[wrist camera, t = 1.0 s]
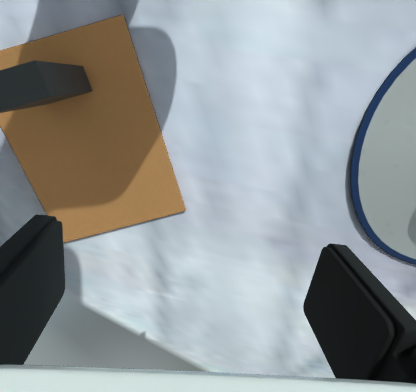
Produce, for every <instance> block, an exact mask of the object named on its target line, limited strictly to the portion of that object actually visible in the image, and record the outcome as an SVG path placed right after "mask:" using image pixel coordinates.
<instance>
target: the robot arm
mask: <svg viewBox="0 0 416 392" xmlns="http://www.w3.org/2000/svg"><path fill="white" fill-rule="evenodd" d="M64 290H65V271H64V249H63V227H62V222H61V221H57V218H56V217H55V216H46V215H35V216H34V217H33V218H32V219H31V220H30V221H28V222H27V223H26V224H25V225H24V226H23V227H22V228H21V229H20V230H18V231H17V232H16V233H15V234H14V235H13V236H12V237H11V238H10V239H9V240H7V241H6V242H5V243H4V244H3V245H2V246H1V247H0V392H416V320H415V319H414V318H413V317H412V316H411V315H410V314H409V313H408V312H407V310H406V309H405V308H404V307H403V306H402V305H401V304H400V303H399V302H398V301H397V300H396V299H395V298H394V296H393V295H392V294H391V293H390V292H389V291H388V290H387V289H386V288H385V287H384V286H383V285H382V283H381V282H380V281H379V280H378V279H377V278H376V277H375V276H374V275H373V274H372V273H371V272H370V270H369V269H368V268H367V267H366V266H365V265H364V264H363V263H362V262H361V261H360V260H359V259H358V257H357V256H356V255H355V254H354V253H353V252H352V251H351V250H350V249H349V248H348V247H347V246H346V245H339V244H328V246H327V247H324V248H323V249H322V251H321V254H320V257H319V260H318V263H317V266H316V269H315V272H314V275H313V278H312V281H311V284H310V287H309V290H308V293H307V296H306V299H305V301H304V313H305V315H306V317H307V320H308V322H309V324H310V326H311V328H312V330H313V332H314V334H315V336H316V338H317V340H318V342H319V344H320V346H321V348H322V351H323V353H324V355H325V357H326V359H327V361H328V363H329V365H330V367H331V369H332V371H333V373H334V375H335V377H336V378H318V377H299V376H280V375H260V374H239V373H217V372H194V371H173V370H172V371H171V370H149V369H148V370H147V369H124V368H99V367H73V366H43V365H23V364H24V362H25V361H26V359H27V357H28V355H29V354H30V352H31V350H32V348H33V347H34V345H35V343H36V341H37V340H38V338H39V336H40V335H41V333H42V331H43V329H44V328H45V326H46V324H47V322H48V321H49V319H50V317H51V315H52V314H53V312H54V310H55V308H56V307H57V305H58V303H59V301H60V300H61V298H62V296H63V294H64Z"/></svg>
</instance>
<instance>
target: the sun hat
mask: <svg viewBox="0 0 416 392" xmlns="http://www.w3.org/2000/svg"><path fill="white" fill-rule="evenodd" d="M350 183H351V192H352V199H353V203H354V207H355V211H356V214H357V216H358V219H359V221H360V223H361V225H362V227H363V228H364V230H365V232H366V233H367V235H368V236H369V237H370V238H371V239H372V241H373V242H374V243H375V244H376V245H377V246H379V247H380V248H381V249H382V250H384V251H385V252H387V253H388V254H390V255H392V256H394V257H396V258H398V259H401V260H403V261H406V262H409V263H412V264H416V48H415V49H414V50H413V51H411V52H410V53H409V54H408V55H407V56H406V57H405V58H404V59H403V60H402V61H401V62H400V63H399V64H398V66H397V67H396V68H395V69H394V70H393V71H392V72H391V73H390V75H389V76H388V77H387V79H386V80H385V81H384V83H383V84H382V86H381V87H380V88H379V90H378V91H377V93H376V95H375V96H374V98H373V100H372V102H371V103H370V105H369V107H368V109H367V111H366V113H365V116H364V118H363V121H362V123H361V126H360V128H359V131H358V135H357V138H356V142H355V146H354V151H353V157H352V163H351V181H350Z"/></svg>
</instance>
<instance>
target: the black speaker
mask: <svg viewBox="0 0 416 392" xmlns="http://www.w3.org/2000/svg"><path fill="white" fill-rule="evenodd" d="M92 91H93V90H92V88H91V85H90V82H89V80H88V77H87V75H86V72H85V70H84V67H83V66H80V65H71V64H63V63H54V62H46V61H37V60H34V61H30V62H27V63H23V64H20V65H16V66H13V67H10V68H6V69H3V70H0V113H3V112H9V111H14V110H20V109H25V108H31V107H36V106H42V105H46V104H50V103H53V102H57V101H60V100H64V99H67V98H71V97H74V96H78V95H82V94H85V93H89V92H92Z"/></svg>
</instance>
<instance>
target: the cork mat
mask: <svg viewBox="0 0 416 392" xmlns="http://www.w3.org/2000/svg"><path fill="white" fill-rule="evenodd" d="M34 60H37V61H46V62H54V63H63V64H71V65H80V66H83V67H84V70H85V72H86V75H87V77H88V80H89V82H90V85H91V88H92V90H93V91H92V92H89V93H85V94H82V95H78V96H74V97H71V98H67V99H64V100H60V101H57V102H53V103H50V104H46V105H42V106H36V107H31V108H25V109H20V110H14V111H9V112H3V113H0V127H1V128H2V130H3V132H4V134H5V136H6V138H7V140H8V142H9V144H10V146H11V147H12V149H13V151H14V153H15V155H16V157H17V159H18V161H19V163H20V164H21V166H22V168H23V170H24V172H25V174H26V176H27V178H28V180H29V182H30V183H31V185H32V187H33V189H34V191H35V193H36V195H37V197H38V199H39V201H40V202H41V204H42V206H43V208H44V210H45V212H46V214H47V216H55V217H56V218H57V221H61V222H62V227H63V243H64V242H68V241H72V240H76V239H80V238H84V237H87V236H91V235H95V234H99V233H103V232H106V231H110V230H114V229H118V228H122V227H126V226H129V225H133V224H137V223H141V222H145V221H148V220H152V219H156V218H160V217H164V216H167V215H171V214H175V213H179V212H183V211H185V210H186V209H185V206H184V203H183V200H182V197H181V193H180V190H179V187H178V184H177V181H176V178H175V175H174V172H173V168H172V165H171V162H170V159H169V156H168V153H167V150H166V147H165V143H164V140H163V137H162V134H161V131H160V128H159V125H158V122H157V118H156V115H155V112H154V109H153V106H152V103H151V100H150V97H149V93H148V90H147V87H146V84H145V81H144V78H143V75H142V71H141V68H140V65H139V62H138V59H137V56H136V53H135V50H134V46H133V43H132V40H131V37H130V34H129V31H128V28H127V25H126V21H125V18H124V16H123V15H120V16H116V17H113V18H110V19H106V20H103V21H99V22H96V23H93V24H89V25H86V26H82V27H79V28H76V29H72V30H69V31H65V32H62V33H59V34H55V35H52V36H48V37H45V38H42V39H38V40H35V41H31V42H28V43H24V44H21V45H18V46H14V47H11V48H7V49H4V50H1V51H0V70H3V69H6V68H10V67H13V66H16V65H20V64H23V63H27V62H30V61H34Z"/></svg>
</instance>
